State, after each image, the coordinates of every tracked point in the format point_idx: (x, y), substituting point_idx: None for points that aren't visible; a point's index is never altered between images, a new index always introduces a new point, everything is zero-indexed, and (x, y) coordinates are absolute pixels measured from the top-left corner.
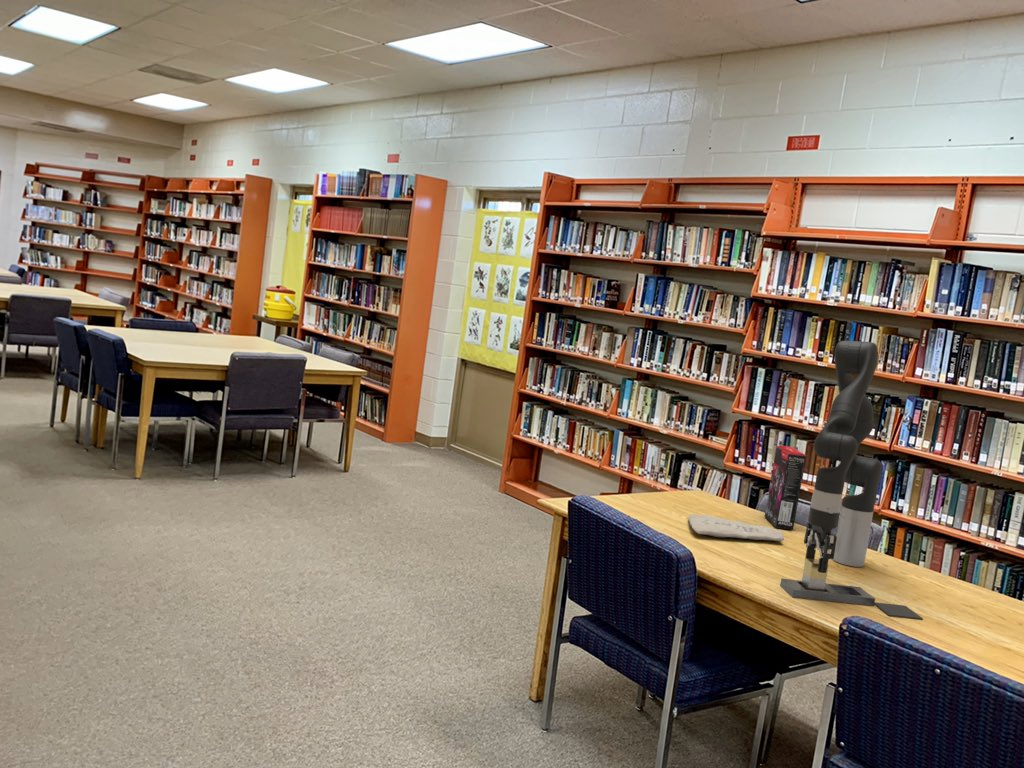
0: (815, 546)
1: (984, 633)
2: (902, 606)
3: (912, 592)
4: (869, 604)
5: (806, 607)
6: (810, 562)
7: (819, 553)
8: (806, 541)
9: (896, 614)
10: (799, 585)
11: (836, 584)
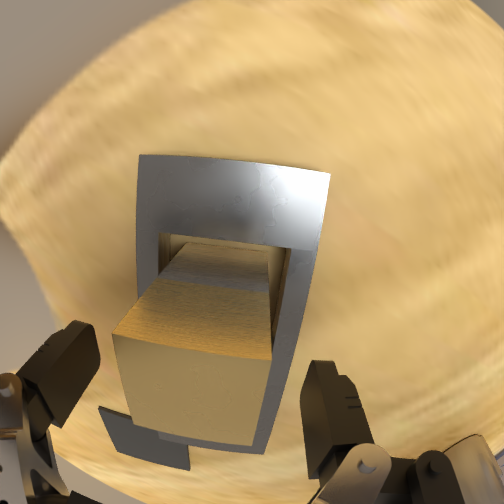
0: (309, 501)
1: (108, 475)
2: (180, 464)
3: (294, 500)
4: None
5: (60, 172)
6: (147, 338)
7: (21, 408)
8: (412, 482)
9: (110, 424)
10: (220, 229)
11: (276, 411)
